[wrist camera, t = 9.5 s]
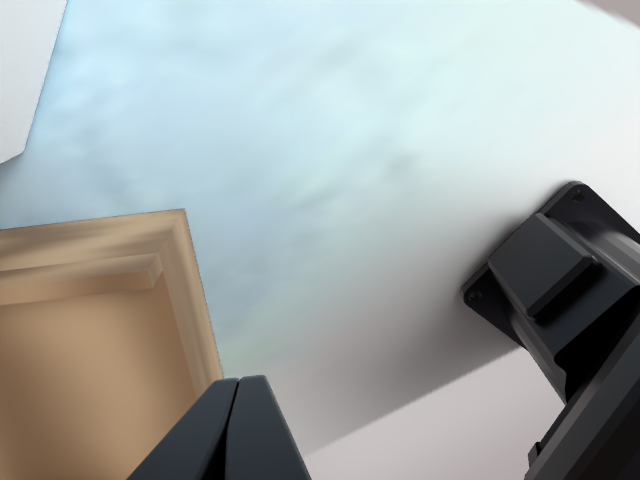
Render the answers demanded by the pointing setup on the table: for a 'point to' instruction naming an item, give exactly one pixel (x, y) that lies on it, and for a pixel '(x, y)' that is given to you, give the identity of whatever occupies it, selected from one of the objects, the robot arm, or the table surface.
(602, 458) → the robot arm
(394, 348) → the table surface
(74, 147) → the table surface
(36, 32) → the milk carton
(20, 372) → the wooden box
